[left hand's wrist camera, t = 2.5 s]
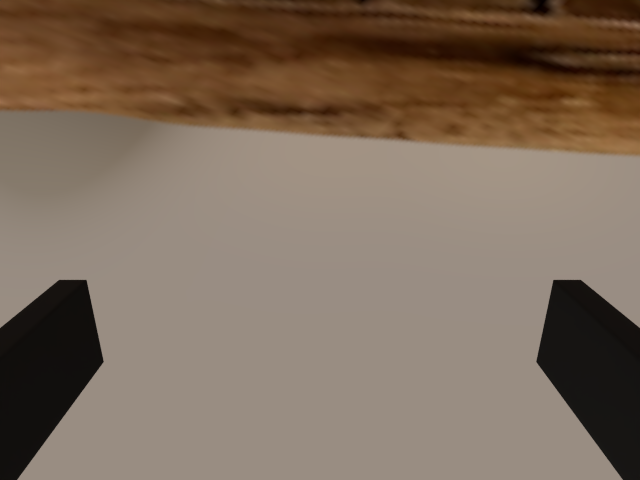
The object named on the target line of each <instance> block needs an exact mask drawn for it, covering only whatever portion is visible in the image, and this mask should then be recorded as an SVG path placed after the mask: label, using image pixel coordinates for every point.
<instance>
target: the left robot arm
mask: <svg viewBox="0 0 640 480" xmlns="http://www.w3.org/2000/svg"><path fill="white" fill-rule="evenodd" d="M103 362H104V361H103V357H102V352H101V347H100V342H99V338H98V333H97V328H96V323H95V318H94V314H93V309H92V304H91V299H90V295H89V290H88V285H87V281H86V280H59V281H57V282H56V283H55V284H54V285H53V286H51V287H50V288H49V289H48V290H46V291H45V292H44V293H43V294H41V295H40V296H39V297H38V298H37V299H35V300H34V301H33V302H32V303H30V304H29V305H28V306H27V307H26V308H24V309H23V310H22V311H21V312H19V313H18V314H17V315H16V316H15V317H13V318H12V319H11V320H10V321H8V322H7V323H6V324H5V325H3V326H2V327H1V328H0V480H17V479H18V478H19V476H20V475H21V474H22V472H23V471H24V470H25V468H26V467H27V465H28V464H29V463H30V461H31V460H32V459H33V457H34V456H35V455H36V453H37V452H38V450H39V449H40V448H41V446H42V445H43V444H44V442H45V441H46V439H47V438H48V437H49V436H50V434H51V433H52V431H53V430H54V429H55V427H56V426H57V425H58V423H59V422H60V421H61V419H62V418H63V416H64V415H65V414H66V412H67V411H68V410H69V408H70V407H71V405H72V404H73V403H74V401H75V400H76V399H77V397H78V396H79V395H80V393H81V392H82V390H83V389H84V388H85V386H86V385H87V384H88V382H89V381H90V380H91V378H92V377H93V376H94V374H95V373H96V372H97V370H98V369H99V367H100V366H101V365H102V363H103ZM537 363H538V365H539V366H540V367H541V369H542V370H543V372H544V373H545V374H546V376H547V377H548V378H549V380H550V381H551V382H552V384H553V385H554V386H555V388H556V389H557V391H558V392H559V393H560V395H561V396H562V397H563V399H564V400H565V401H566V403H567V404H568V406H569V407H570V408H571V410H572V411H573V412H574V414H575V415H576V416H577V418H578V419H579V421H580V422H581V423H582V425H583V426H584V427H585V429H586V430H587V431H588V433H589V434H590V436H591V437H592V438H593V440H594V441H595V442H596V444H597V445H598V446H599V448H600V449H601V450H602V452H603V453H604V455H605V456H606V457H607V459H608V460H609V461H610V463H611V464H612V465H613V467H614V468H615V470H616V471H617V472H618V474H619V475H620V476H621V478H622V479H623V480H640V328H639V327H638V326H637V325H635V324H634V323H633V322H632V321H630V320H629V319H628V318H627V317H625V316H624V315H623V314H622V313H621V312H619V311H618V310H617V309H616V308H614V307H613V306H612V305H611V304H610V303H608V302H607V301H606V300H605V299H603V298H602V297H601V296H600V295H599V294H597V293H596V292H595V291H594V290H592V289H591V288H590V287H589V286H588V285H586V284H585V283H584V282H583V281H581V280H553V285H552V290H551V295H550V299H549V304H548V309H547V314H546V318H545V323H544V328H543V333H542V338H541V342H540V347H539V352H538V357H537Z"/></svg>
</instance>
